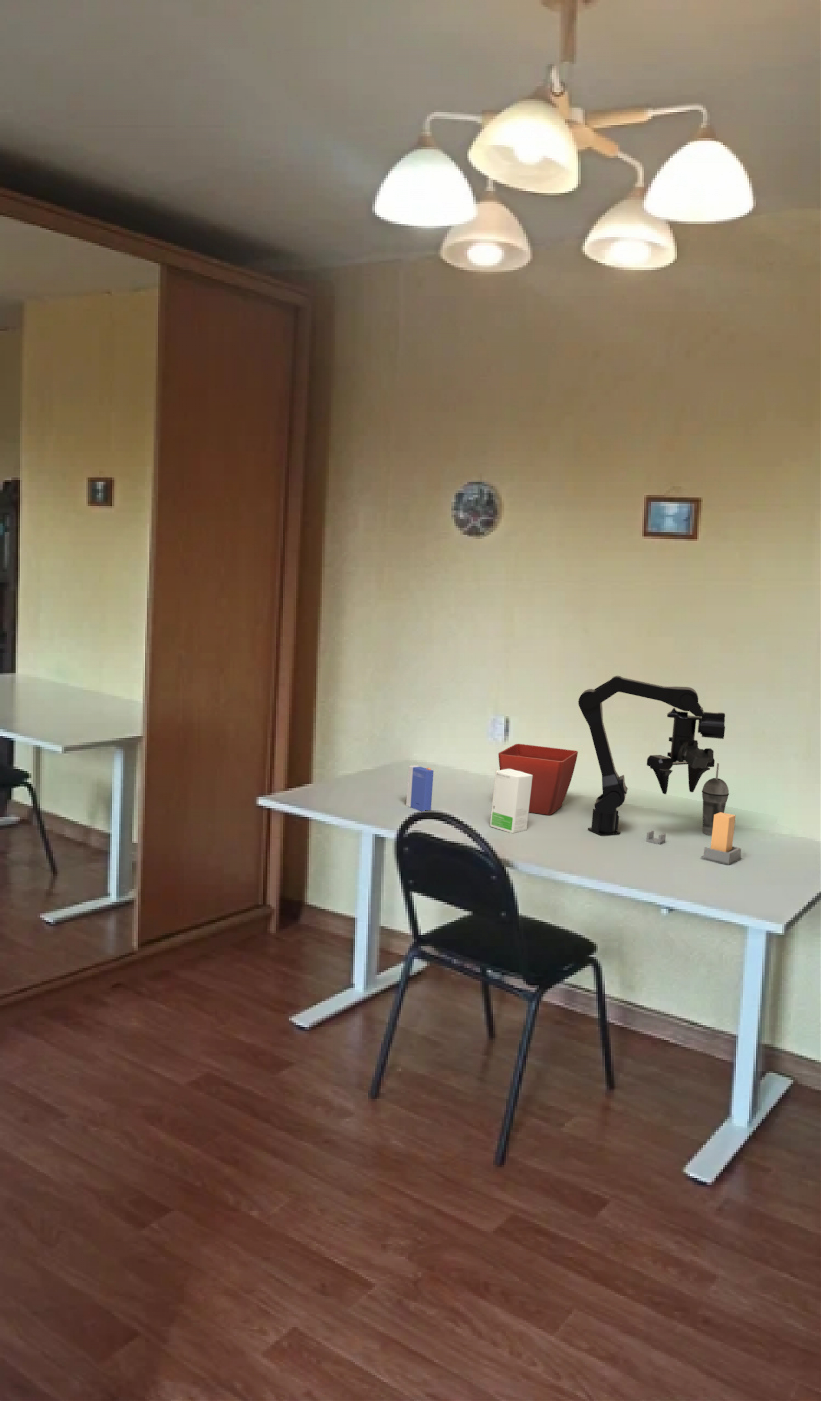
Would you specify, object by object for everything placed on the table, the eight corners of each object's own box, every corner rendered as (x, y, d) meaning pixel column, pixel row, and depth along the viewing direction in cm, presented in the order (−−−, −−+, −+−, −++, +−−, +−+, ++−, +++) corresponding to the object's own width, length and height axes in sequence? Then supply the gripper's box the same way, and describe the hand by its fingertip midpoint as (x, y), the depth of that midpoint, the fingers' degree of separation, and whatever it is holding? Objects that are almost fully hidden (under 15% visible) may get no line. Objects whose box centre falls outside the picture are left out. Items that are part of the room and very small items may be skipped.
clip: (660, 844, 295) (660, 835, 295) (646, 841, 298) (647, 832, 297) (665, 842, 298) (665, 833, 297) (651, 839, 300) (652, 830, 300)
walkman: (431, 810, 317) (433, 769, 315) (423, 811, 315) (426, 770, 313) (413, 804, 323) (415, 763, 321) (405, 805, 321) (408, 764, 319)
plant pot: (492, 810, 322) (497, 752, 320) (512, 797, 340) (516, 742, 337) (557, 820, 315) (562, 761, 313) (574, 806, 333) (579, 751, 330)
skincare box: (489, 827, 303) (493, 770, 300) (504, 823, 308) (508, 767, 305) (513, 833, 297) (518, 776, 295) (529, 830, 302) (533, 773, 300)
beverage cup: (725, 832, 313) (732, 761, 310) (724, 838, 306) (731, 766, 303) (698, 828, 315) (705, 758, 312) (696, 834, 308) (703, 763, 305)
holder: (700, 858, 284) (701, 847, 284) (712, 853, 290) (713, 842, 289) (728, 865, 280) (729, 853, 279) (739, 859, 285) (741, 848, 285)
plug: (709, 856, 284) (713, 814, 283) (716, 853, 288) (720, 812, 286) (724, 860, 282) (729, 817, 280) (731, 857, 285) (735, 815, 283)
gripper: (676, 741, 285) (670, 801, 287) (731, 739, 294) (725, 798, 296) (648, 734, 295) (642, 792, 297) (702, 732, 303) (697, 788, 306)
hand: (678, 792), depth 299 cm, fingers open, 9 cm apart
